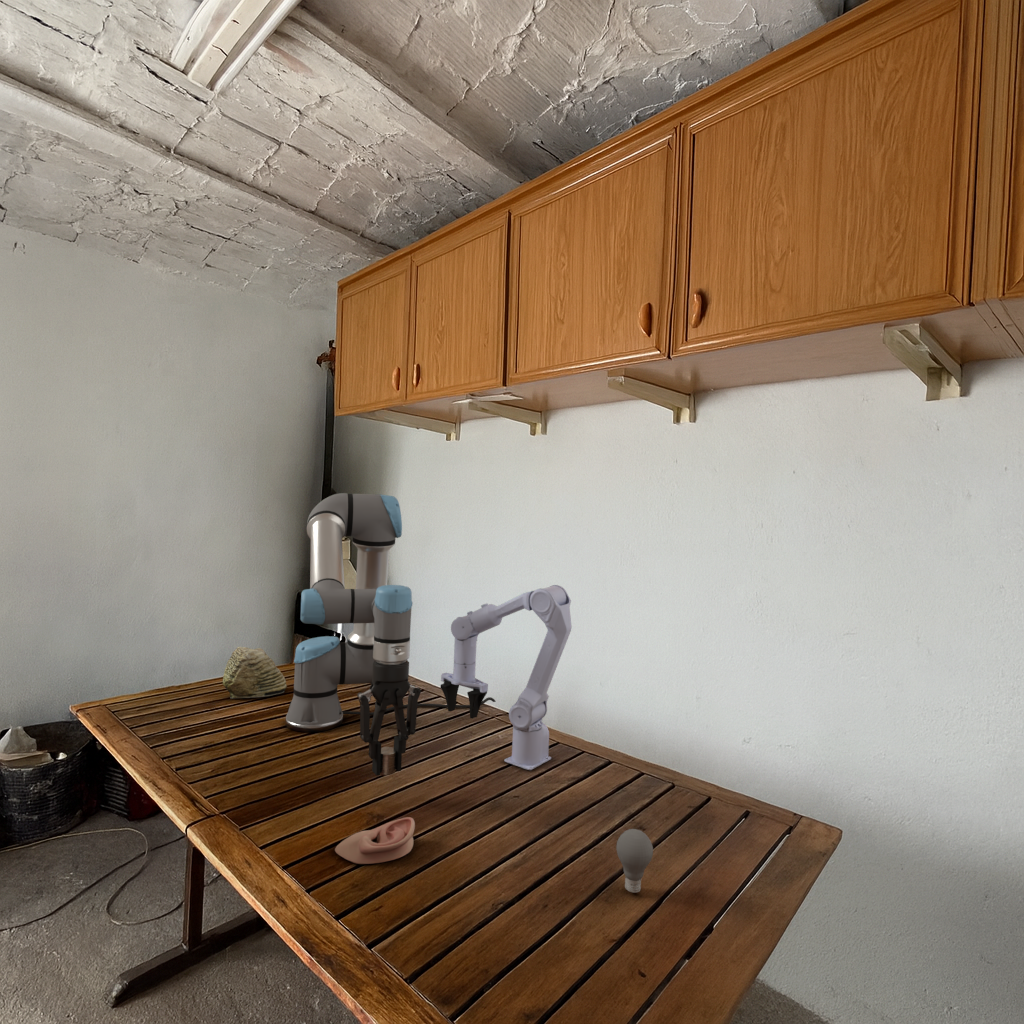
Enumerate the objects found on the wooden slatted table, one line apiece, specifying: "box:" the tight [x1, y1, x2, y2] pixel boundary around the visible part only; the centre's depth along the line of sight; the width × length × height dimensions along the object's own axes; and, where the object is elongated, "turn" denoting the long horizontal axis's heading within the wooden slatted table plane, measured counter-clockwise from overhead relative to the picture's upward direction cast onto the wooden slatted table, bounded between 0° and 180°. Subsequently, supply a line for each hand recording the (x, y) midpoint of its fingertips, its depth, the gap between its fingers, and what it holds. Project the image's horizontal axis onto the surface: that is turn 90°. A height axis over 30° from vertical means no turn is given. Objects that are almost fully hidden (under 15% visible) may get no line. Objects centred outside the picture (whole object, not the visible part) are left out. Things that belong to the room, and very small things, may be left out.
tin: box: [379, 746, 397, 776], centre depth 133 cm, size 4×4×4 cm
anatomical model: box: [334, 816, 416, 865], centre depth 115 cm, size 13×4×12 cm
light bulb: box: [615, 828, 654, 894], centre depth 106 cm, size 6×6×10 cm
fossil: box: [222, 646, 288, 699], centre depth 198 cm, size 9×18×15 cm, turn 132°
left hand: (386, 770), depth 133 cm, fingers closed on tin, 4 cm apart
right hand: (462, 713), depth 165 cm, fingers open, 7 cm apart
